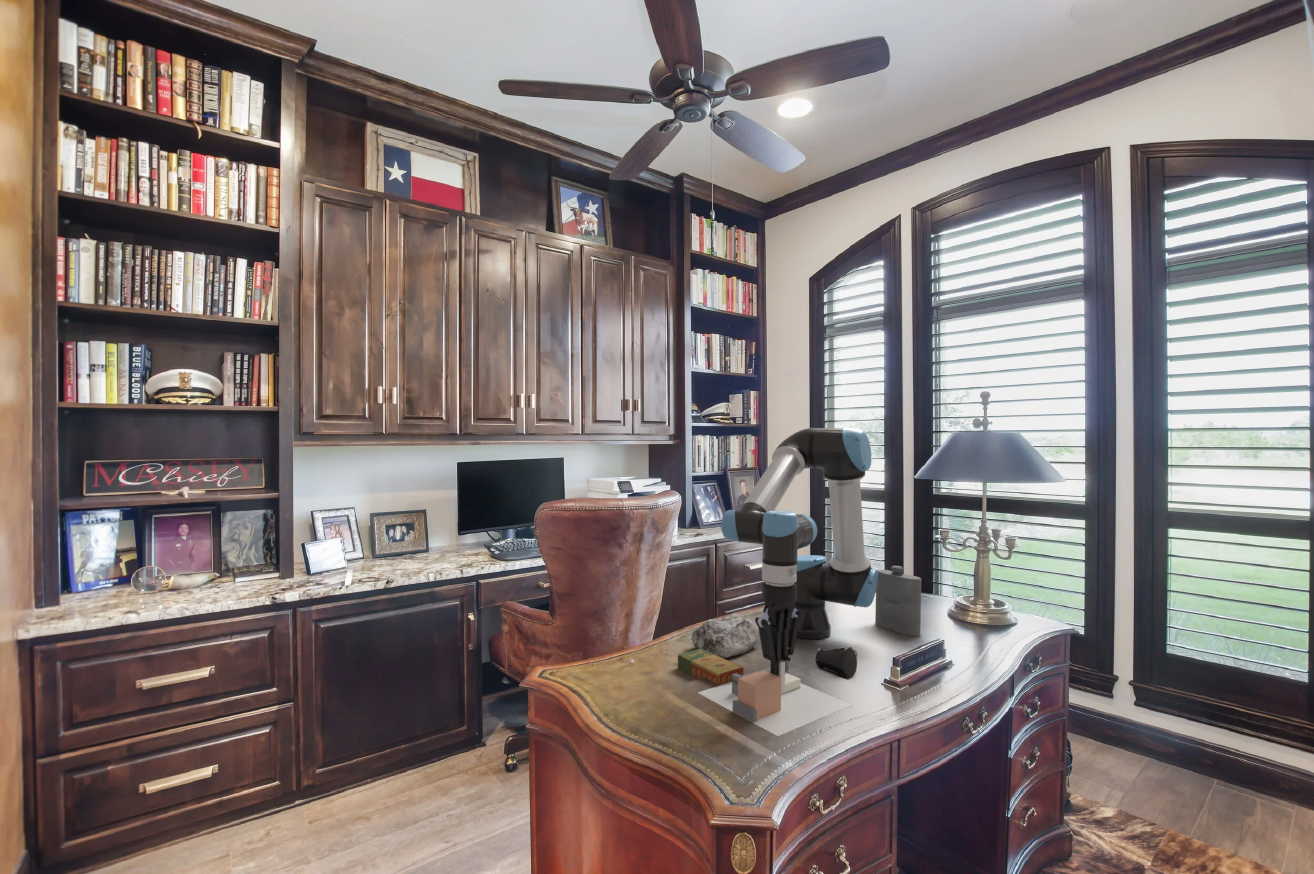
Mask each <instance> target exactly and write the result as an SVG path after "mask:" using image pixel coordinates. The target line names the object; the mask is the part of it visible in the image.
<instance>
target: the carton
mask: <svg viewBox="0 0 1314 874" xmlns="http://www.w3.org/2000/svg"><path fill="white" fill-rule="evenodd" d="M677 669H678V670H679V671H681V672H684V673H686V674H687V675H689V676H691V677H693V678H695V679H696V680H700V679H706V680H708V681H709V682H711V683H714V684H716V685H717V686H720V685H723V684H726V683H729V682H732V674H735V673H737V674H739V675H741V676H742V675H745V674H744V672H745V671H744V667H743V666H741V665H739V664H737V663H734V662H732V661H730V660H728V659H727V658H721V657H719V656H717V655H715V654H713V653H710V652H708V651H706V650H704V649H702V648H701V649H698V648H697V649H694V650H691V651H686V652H683V653H679V654H678V655H677Z"/></svg>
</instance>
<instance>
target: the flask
mask: <svg viewBox="0 0 1314 874" xmlns="http://www.w3.org/2000/svg"><path fill="white" fill-rule="evenodd" d="M890 569H891V570H888V569H877V571H878V583H877V589H876V593H875V617H874V618H875V620H874V621H875V622H874V623H875V625H876V626H878V627H879V628H880V629H881V628H882V629H884V630H886V631H890V632H893V633H897V634H901V635H904V636H908V637H919V636H920V635H921V623H922V622H921V618H922V617H921V616H922V615H921V613H922V578H921V577H919V576H915V575H911V574H904V567H903V566H900V565H892V566H891V567H890Z"/></svg>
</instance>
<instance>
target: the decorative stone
mask: <svg viewBox="0 0 1314 874" xmlns="http://www.w3.org/2000/svg"><path fill="white" fill-rule="evenodd" d="M692 631H693V632H692V634H691V638H690V640H691V641H692V645H693V646H694V648H695V649H697V650H698V649H701V648H702V649H704V650H706V651H708V652H710V653H713V654H715V655H717V656H719V657H721V658H724V659H727V658H731V657H735V656H739V655H743V654H745V653H747V652H749V651H751V649H753V648H754V647H755V646H756V645H757V643H758V640H759V639H758V635H759V634H758V633H759V632H758V630H757V626H756V625H755V622H754V621H752V619H750V618H748V617H745V616H743V615H741V614H740V613H737V612H734V613H731V614H729V615H726V616H723V617H722V616H721V617H716V618H711V619H707V621H705V623H703V624H701V625H700V626H698V627H697V628H696V629H694V630H692Z"/></svg>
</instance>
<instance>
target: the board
mask: <svg viewBox="0 0 1314 874" xmlns="http://www.w3.org/2000/svg"><path fill="white" fill-rule="evenodd" d="M789 662H790V661H786V674H785V691H784V692H781V711H778V712H776V713H773V714H770V715H768V716H765V717H763V718H760V719H757V710H756V709H754V708H752V707H750V706H748V705H746V704H745V703H743V702H741V701H739V700H738V678H741V677H744V676H747V675H750V674H754V673H757V672H760V671H763V670H765V671H767V672H769V673H770V671H771V666H768V667H765V668H761V669H759V670H755V671H752V672H749V673H746V674H743V675H742V676H741V675H739V674H737V673H735V674H732V682H728V683H725V684H721V685H717V686H714V687H710V688H707V689H704V690H701V691H698V692H697V694H699V695H701V696H703V697H704V698H706V699H708V700H710V701H711V702H713V703H715V704H717V705H718V706H721V707H723V708H725V709H727V711H730V712H732V713H734V714H736V715H737V716H739V717H741V718H743V719H744V720H746V721H749V722H750V723H752V724H754V725H756V726H757V727H760V728H761V729H764V730H765V731H767V732H769V733H771V734H773V735H774V736H776V737H780V736H782V735H784V734H787V733H789V732H792V731H794V730H798V729H799V728H802V727H804V726H806V725H808V724H810V723H813V722H815V721H817V720H821V719H822V718H825V717H827V716H830V715H832V714H834V713H836V712H838V711H839V712H840V711H841V710H844V709H846V708H848V707H851V706H852V704H850V703H848V702H846V701H844V700H841V699H839V698H836V697H834V696H832V695H829V694H827V693H825V692H823V691H820V690H818V689H816V688H813V687H811V686H809V685H806V684H804V683H802V682H801V681H802V679H801V678H799V677H797V676H795V675H792V674H790V673H789Z"/></svg>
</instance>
